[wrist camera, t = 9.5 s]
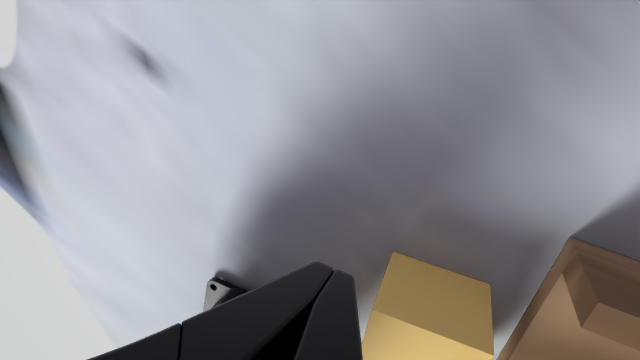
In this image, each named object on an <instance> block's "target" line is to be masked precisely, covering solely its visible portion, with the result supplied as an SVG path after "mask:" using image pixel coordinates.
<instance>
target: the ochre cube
mask: <svg viewBox="0 0 640 360" xmlns="http://www.w3.org/2000/svg"><path fill="white" fill-rule="evenodd" d="M362 355H363V360H492V359H493V357H494V346H493V327H492V308H491V289H490V284H488V283H485V282H482V281H479V280H476V279H473V278H470V277H467V276H464V275H461V274H458V273H455V272H452V271H449V270H446V269H443V268H440V267H437V266H434V265H431V264H429V263H426V262H423V261H420V260H417V259H414V258H411V257H408V256H405V255H402V254H399V253H396V252H393V253H392V255H391V258H390V261H389V264H388V266H387V269H386V272H385V275H384V277H383V280H382V283H381V286H380V288H379V291H378V294H377V297H376V299H375V302H374V305H373V308H372V311H371V314H370V318H369V321H368V325H367V328H366V332H365V335H364V339H363V342H362Z"/></svg>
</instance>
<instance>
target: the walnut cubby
mask: <svg viewBox="0 0 640 360" xmlns="http://www.w3.org/2000/svg"><path fill="white" fill-rule="evenodd" d="M497 360H640V262H639V261H637V260H634V259H631V258H628V257H625V256H622V255H620V254H617V253H614V252H611V251H608V250H605V249H603V248H600V247H597V246H594V245H591V244H588V243H586V242H583V241H580V240H577V239H574V238H571V237H570V238H569V239H568V241H567V243H566V244H565V246H564V248H563V249H562V251H561V253H560V254H559V256H558V258H557V259H556V261H555V263H554V264H553V266H552V268H551V270H550V271H549V273H548V275H547V276H546V278H545V280H544V281H543V283H542V285H541V286H540V288H539V290H538V291H537V293H536V295H535V296H534V298H533V300H532V301H531V303H530V305H529V306H528V308H527V310H526V311H525V313H524V315H523V316H522V318H521V320H520V321H519V323H518V325H517V326H516V328H515V330H514V331H513V333H512V335H511V336H510V338H509V340H508V341H507V343H506V345H505V347H504V348H503V350H502V352H501V353H500V355H499V357H498V358H497Z"/></svg>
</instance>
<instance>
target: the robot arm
mask: <svg viewBox="0 0 640 360" xmlns="http://www.w3.org/2000/svg"><path fill="white" fill-rule="evenodd" d="M215 285H216V286H215ZM88 360H363V355H362V346H361V337H360V328H359V318H358V309H357V300H356V291H355V282H354V278H353V276H351V275H349V274H347V273H344V272H342V271H339V270H335V271H334V269H333V268H332V267H330V266H327V265H325V264H323V263H320V262H313V263H311V264H309V265H307V266H305V267H302V268H300V269H298V270H296V271H293V272H291V273H289V274H287V275H285V276H282V277H280V278H278V279H276V280H273V281H271V282H269V283H267V284H265V285H262V286H260V287H258V288H256V289H253V290H251V291H249V292H248V291H245V290H243V289H241V288H239V287H237V286H234V285H232V284H230V283H228V282H226V281H223V280H221V279H219V278H216V277H213V278H212V279H210V280H209V281H208V283H207V287H206V295H205V302H204V310H203V312H202V313H200V314H198V315H196V316H194V317H191V318H189V319H187V320H185V321H183V322H182V325H181V324H180V323H178V324H175V325H173V326H171V327H169V328H166V329H164V330H162V331H160V332H157V333H155V334H153V335H150V336H148V337H145V338H143V339H141V340H138V341H136V342H134V343H131V344H129V345H126V346H123V347H121V348H118V349H115V350H113V351H110V352H107V353H104V354H102V355H99V356H96V357H93V358H90V359H88Z"/></svg>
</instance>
